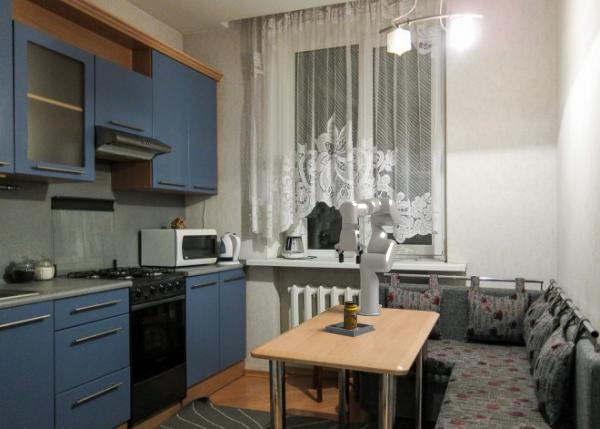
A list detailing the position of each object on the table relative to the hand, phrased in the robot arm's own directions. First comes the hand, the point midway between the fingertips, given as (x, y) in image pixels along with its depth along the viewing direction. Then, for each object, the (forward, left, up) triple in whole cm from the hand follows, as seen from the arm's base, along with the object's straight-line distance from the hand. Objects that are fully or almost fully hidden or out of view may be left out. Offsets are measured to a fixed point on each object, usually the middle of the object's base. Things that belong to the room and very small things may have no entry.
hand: (349, 263), depth 238 cm
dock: (+15, +10, -28) cm, 34 cm away
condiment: (+15, +9, -28) cm, 33 cm away
